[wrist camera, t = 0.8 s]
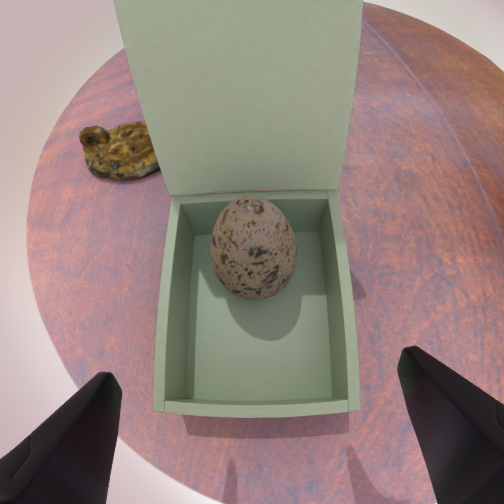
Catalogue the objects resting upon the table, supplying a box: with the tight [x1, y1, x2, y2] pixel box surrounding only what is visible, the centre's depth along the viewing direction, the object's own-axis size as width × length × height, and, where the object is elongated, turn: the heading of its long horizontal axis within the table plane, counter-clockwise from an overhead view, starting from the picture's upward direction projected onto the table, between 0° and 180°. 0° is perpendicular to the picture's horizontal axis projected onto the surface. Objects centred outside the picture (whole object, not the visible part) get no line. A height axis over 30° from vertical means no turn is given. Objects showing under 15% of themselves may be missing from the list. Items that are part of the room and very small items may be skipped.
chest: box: [153, 190, 361, 418], centre depth 21 cm, size 16×13×6 cm
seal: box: [79, 121, 160, 180], centre depth 31 cm, size 9×5×15 cm
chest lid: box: [114, 0, 363, 196], centre depth 16 cm, size 16×13×4 cm
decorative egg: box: [210, 195, 297, 300], centre depth 20 cm, size 6×6×10 cm
